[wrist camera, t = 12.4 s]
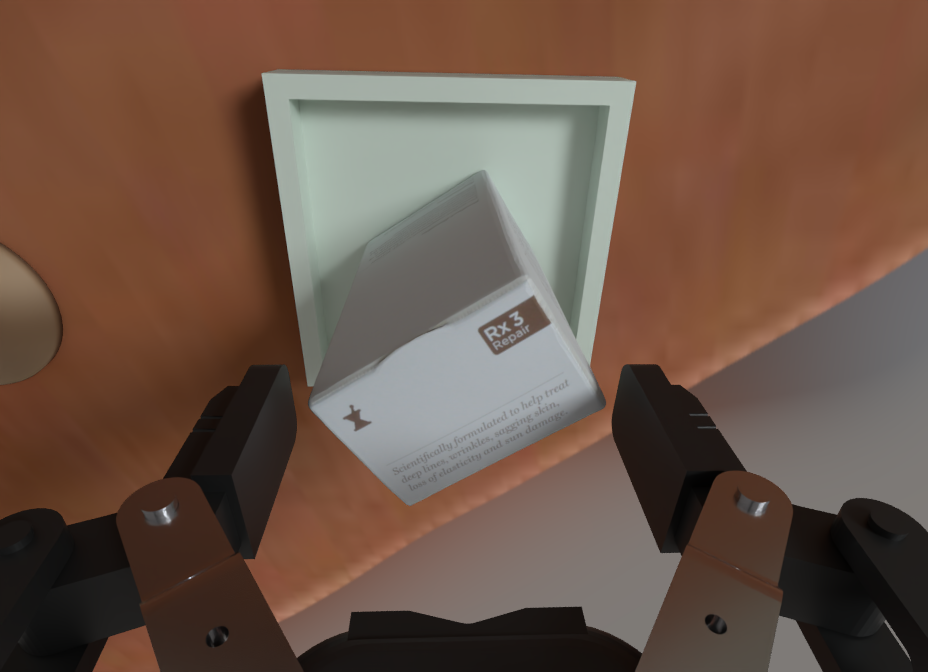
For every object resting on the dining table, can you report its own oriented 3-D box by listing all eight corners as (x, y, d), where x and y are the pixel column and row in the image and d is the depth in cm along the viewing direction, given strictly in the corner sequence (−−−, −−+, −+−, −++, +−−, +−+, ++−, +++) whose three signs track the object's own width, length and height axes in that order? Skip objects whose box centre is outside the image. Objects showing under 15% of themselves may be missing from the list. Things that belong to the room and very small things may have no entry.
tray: (278, 69, 20) (261, 73, 18) (618, 76, 21) (636, 81, 19) (317, 360, 27) (307, 386, 25) (576, 360, 27) (586, 385, 25)
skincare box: (421, 315, 25) (406, 525, 14) (361, 236, 23) (291, 412, 12) (538, 245, 23) (619, 422, 13) (485, 155, 21) (527, 275, 11)
